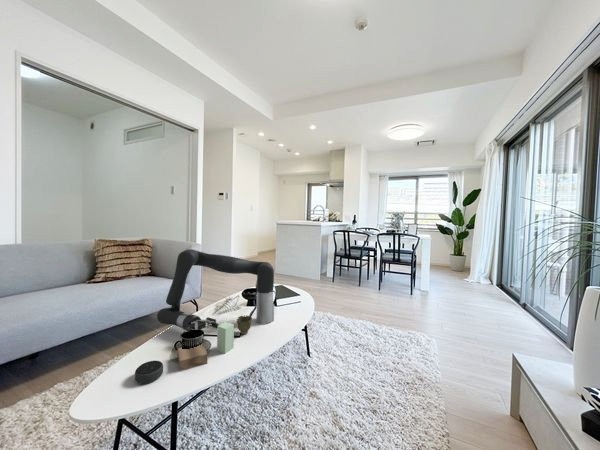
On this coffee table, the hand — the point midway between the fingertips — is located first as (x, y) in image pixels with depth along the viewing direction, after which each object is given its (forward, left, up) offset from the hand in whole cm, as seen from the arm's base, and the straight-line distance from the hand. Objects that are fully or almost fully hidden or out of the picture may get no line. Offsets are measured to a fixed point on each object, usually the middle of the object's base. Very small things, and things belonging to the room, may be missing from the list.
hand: (211, 329), depth 113 cm
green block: (-5, +8, -7) cm, 11 cm away
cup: (-17, -2, -7) cm, 18 cm away
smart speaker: (+24, +13, -7) cm, 29 cm away
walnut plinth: (+9, +10, -7) cm, 15 cm away
